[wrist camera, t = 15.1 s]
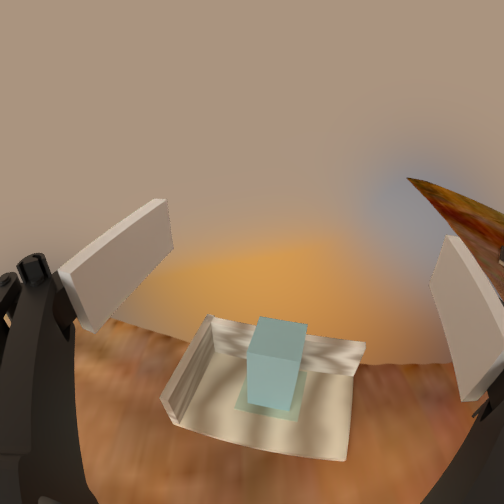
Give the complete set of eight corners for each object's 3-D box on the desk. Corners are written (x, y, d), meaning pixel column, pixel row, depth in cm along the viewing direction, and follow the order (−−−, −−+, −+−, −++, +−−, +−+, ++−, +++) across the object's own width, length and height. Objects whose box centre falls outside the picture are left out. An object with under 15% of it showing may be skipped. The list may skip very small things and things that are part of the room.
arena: (352, 372, 41) (365, 340, 37) (344, 461, 28) (363, 441, 24) (212, 347, 47) (207, 314, 42) (173, 424, 33) (159, 397, 29)
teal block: (296, 378, 40) (307, 324, 33) (289, 411, 35) (300, 361, 28) (258, 371, 41) (259, 316, 35) (247, 402, 36) (246, 351, 30)
